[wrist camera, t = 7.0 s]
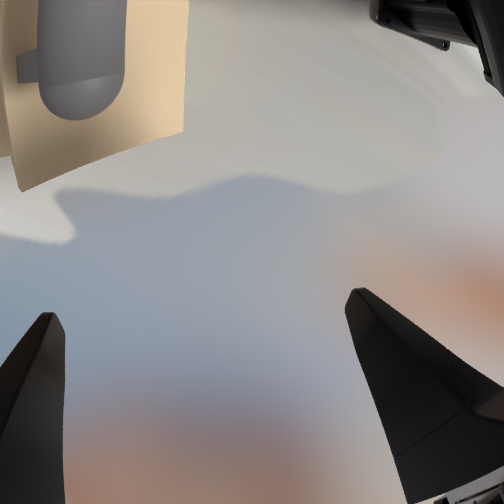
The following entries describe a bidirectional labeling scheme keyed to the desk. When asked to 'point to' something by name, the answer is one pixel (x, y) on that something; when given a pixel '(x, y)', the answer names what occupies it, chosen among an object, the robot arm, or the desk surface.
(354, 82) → the desk surface
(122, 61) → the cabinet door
